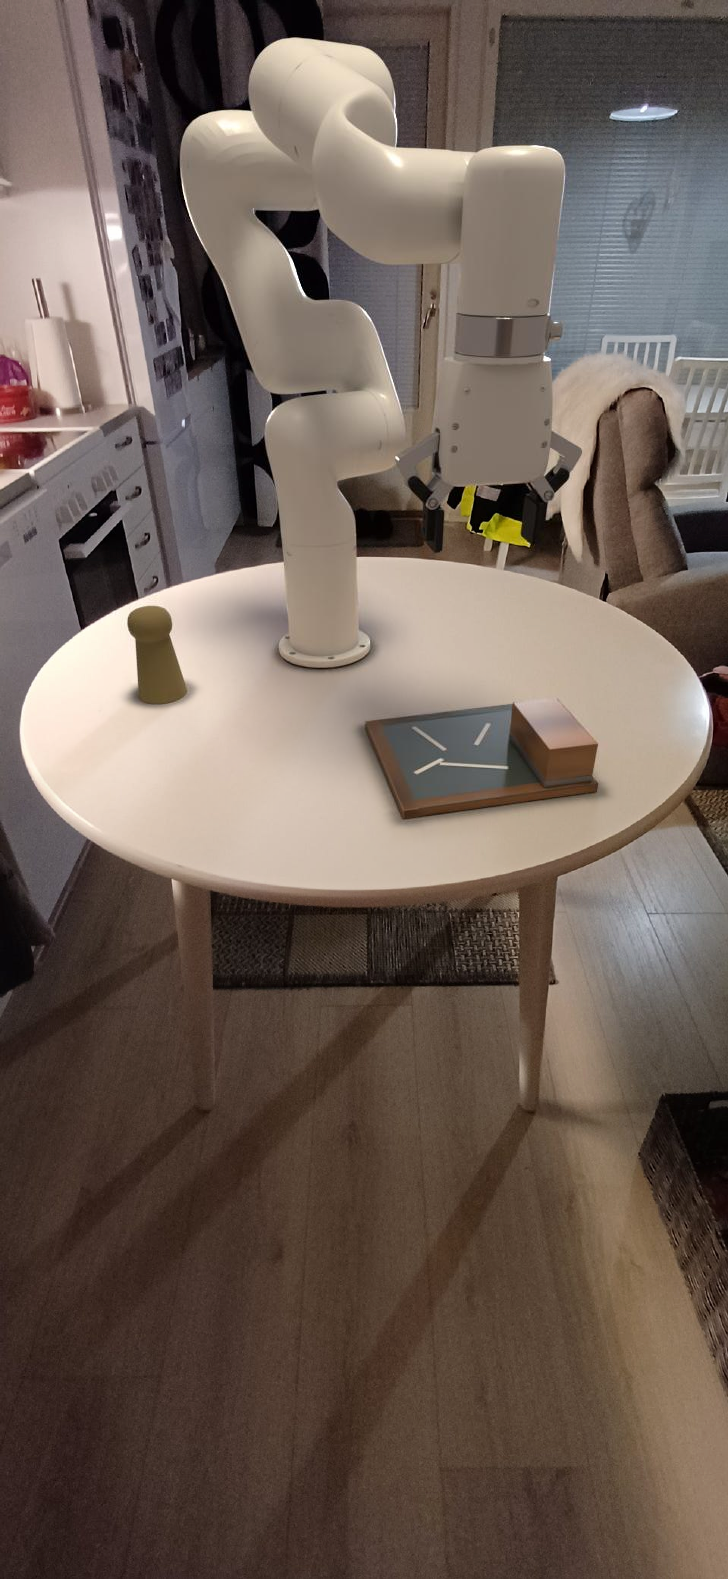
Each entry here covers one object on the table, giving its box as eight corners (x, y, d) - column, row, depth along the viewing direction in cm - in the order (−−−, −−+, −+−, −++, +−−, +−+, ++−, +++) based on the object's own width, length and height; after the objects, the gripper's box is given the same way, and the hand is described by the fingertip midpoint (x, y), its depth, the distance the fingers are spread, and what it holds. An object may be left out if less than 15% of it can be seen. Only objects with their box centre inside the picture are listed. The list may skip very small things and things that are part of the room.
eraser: (508, 737, 84) (512, 701, 82) (551, 732, 85) (556, 697, 83) (544, 787, 76) (549, 749, 74) (591, 781, 77) (598, 743, 75)
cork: (175, 705, 95) (160, 620, 88) (130, 702, 96) (111, 617, 89) (194, 683, 99) (181, 601, 93) (150, 680, 101) (134, 599, 94)
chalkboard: (365, 728, 89) (365, 720, 88) (529, 708, 92) (530, 701, 91) (403, 818, 74) (403, 810, 74) (597, 791, 77) (598, 783, 77)
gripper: (577, 332, 69) (550, 527, 79) (388, 337, 66) (385, 538, 76) (617, 342, 63) (582, 551, 73) (411, 347, 60) (404, 564, 70)
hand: (482, 544), depth 74 cm, fingers open, 9 cm apart
